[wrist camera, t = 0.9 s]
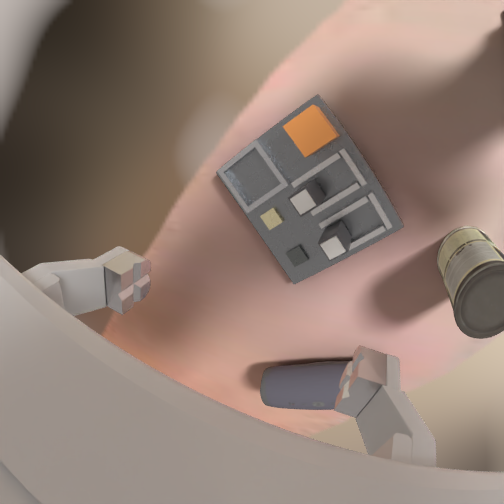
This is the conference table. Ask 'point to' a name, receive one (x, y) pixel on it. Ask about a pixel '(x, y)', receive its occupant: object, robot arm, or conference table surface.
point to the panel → (297, 175)
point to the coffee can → (473, 281)
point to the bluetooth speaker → (303, 385)
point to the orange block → (311, 130)
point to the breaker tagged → (307, 198)
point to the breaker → (335, 241)
